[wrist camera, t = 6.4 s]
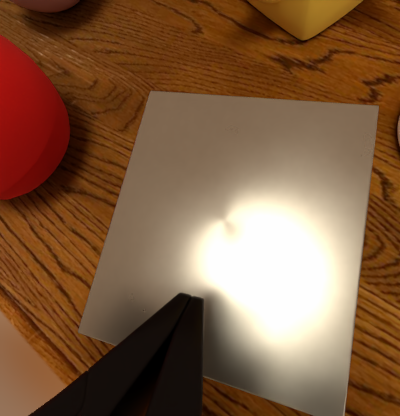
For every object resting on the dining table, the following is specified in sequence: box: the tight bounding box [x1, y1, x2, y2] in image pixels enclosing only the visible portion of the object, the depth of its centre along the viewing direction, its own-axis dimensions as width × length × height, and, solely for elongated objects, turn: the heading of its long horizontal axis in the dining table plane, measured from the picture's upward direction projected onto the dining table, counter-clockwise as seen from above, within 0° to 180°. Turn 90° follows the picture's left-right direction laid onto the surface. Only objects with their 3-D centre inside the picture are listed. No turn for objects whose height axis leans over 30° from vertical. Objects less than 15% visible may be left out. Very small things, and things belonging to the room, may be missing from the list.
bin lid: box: [78, 91, 379, 416], centre depth 13 cm, size 13×12×1 cm
